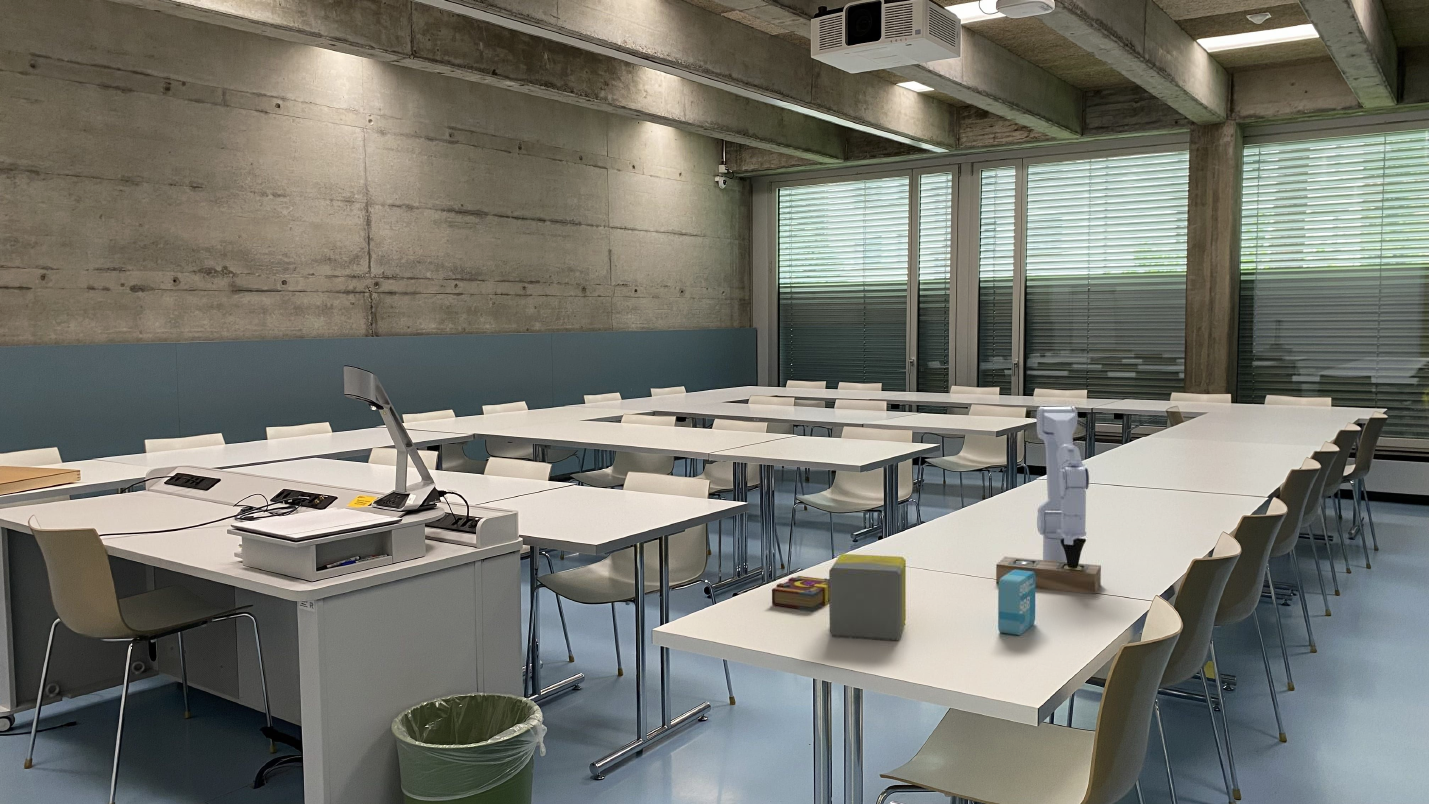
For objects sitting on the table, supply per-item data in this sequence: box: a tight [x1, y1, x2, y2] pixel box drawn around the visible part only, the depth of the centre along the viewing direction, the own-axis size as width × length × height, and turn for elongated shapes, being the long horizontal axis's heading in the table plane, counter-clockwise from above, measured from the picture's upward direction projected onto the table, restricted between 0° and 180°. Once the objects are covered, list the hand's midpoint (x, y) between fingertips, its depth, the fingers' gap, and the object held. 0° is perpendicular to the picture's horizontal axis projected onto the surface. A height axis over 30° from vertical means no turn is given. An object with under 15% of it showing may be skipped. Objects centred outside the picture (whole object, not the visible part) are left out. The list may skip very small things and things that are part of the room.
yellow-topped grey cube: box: [828, 553, 907, 642], centre depth 226 cm, size 15×24×15 cm, turn 164°
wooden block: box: [995, 556, 1102, 595], centre depth 258 cm, size 10×24×5 cm, turn 61°
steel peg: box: [1016, 561, 1033, 565], centre depth 261 cm, size 4×4×4 cm
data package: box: [997, 570, 1036, 636], centre depth 220 cm, size 12×4×12 cm, turn 146°
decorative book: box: [771, 575, 829, 612], centre depth 246 cm, size 11×16×5 cm
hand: (1072, 567), depth 255 cm, fingers closed, pressing on brass peg
